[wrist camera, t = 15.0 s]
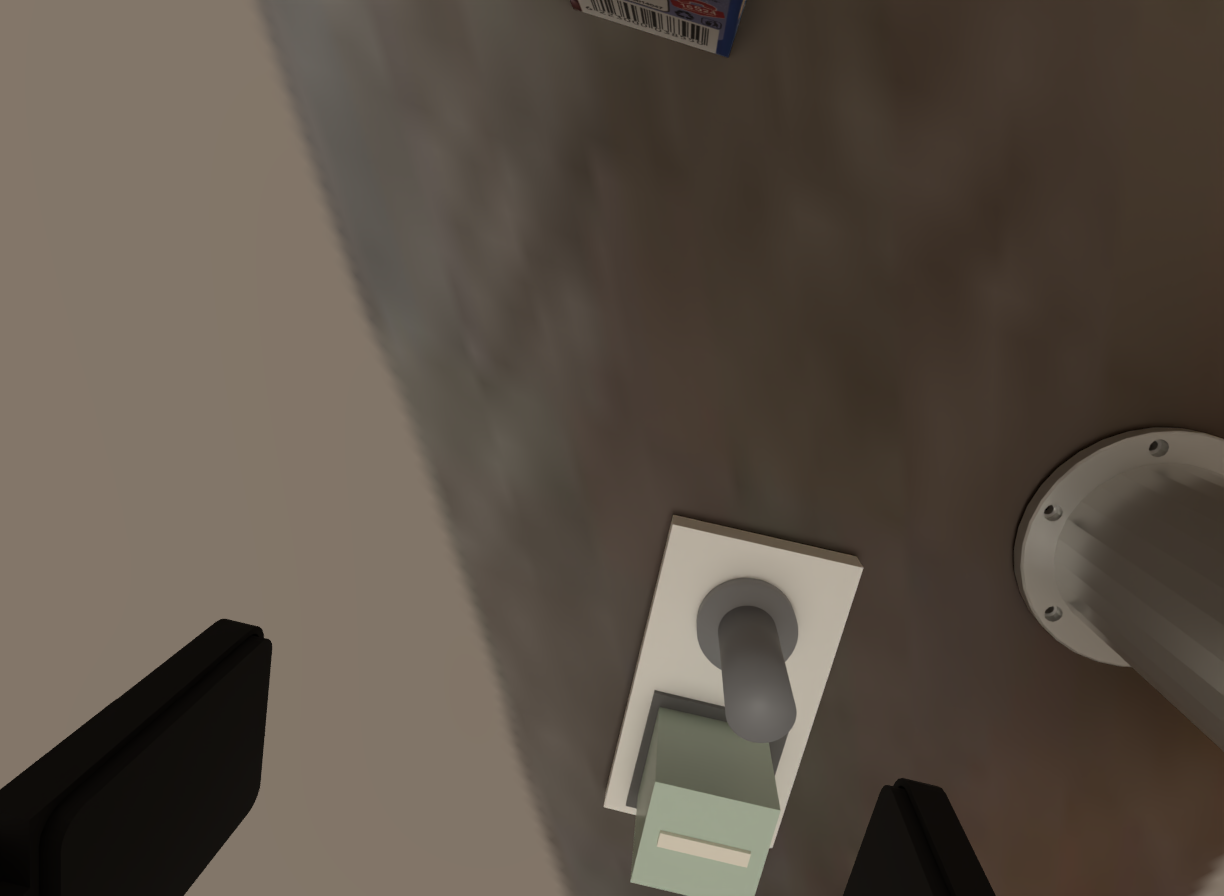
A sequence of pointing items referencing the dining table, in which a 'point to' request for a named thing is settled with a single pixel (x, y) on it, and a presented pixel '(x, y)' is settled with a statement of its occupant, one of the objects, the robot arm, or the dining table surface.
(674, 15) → the juice carton
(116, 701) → the robot arm
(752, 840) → the green slotted box
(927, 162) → the dining table surface
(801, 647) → the post board
